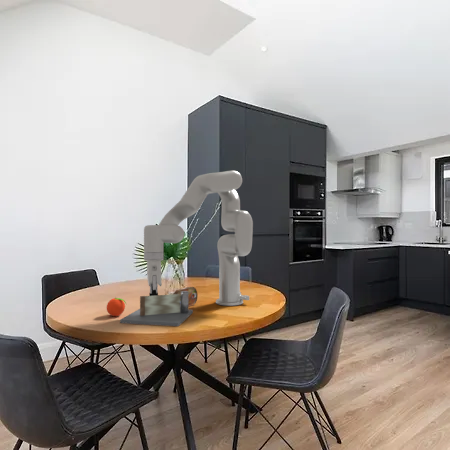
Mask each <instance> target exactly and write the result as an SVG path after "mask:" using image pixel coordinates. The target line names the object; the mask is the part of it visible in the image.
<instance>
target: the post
mask: <svg viewBox="0 0 450 450" xmlns="http://www.w3.org/2000/svg"><path fill="white" fill-rule="evenodd" d="M188 310H189V307H188V291H181V313H183V314H186V313H188Z"/></svg>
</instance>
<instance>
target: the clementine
mask: <svg viewBox="0 0 450 450" xmlns="http://www.w3.org/2000/svg"><path fill="white" fill-rule="evenodd" d="M126 304H127V302H126V301H125V300H124V299H122V298H118V297H115V298H111V299H110V300H109V301H108V302H107V304H106V311H107V313H108V314H109V315H110V316H113V317H118V316H121V315H122V314H123V313H124V311H125V309H126Z"/></svg>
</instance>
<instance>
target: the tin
mask: <svg viewBox="0 0 450 450" xmlns="http://www.w3.org/2000/svg"><path fill="white" fill-rule="evenodd" d="M181 291H188V308H190V307H193V306H195V305H196V303H197V301H198V290H197V288H196V287H194V286H187V287H183V288H179V289H176V290H174V292H173V294H180V309H181Z"/></svg>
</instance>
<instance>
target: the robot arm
mask: <svg viewBox="0 0 450 450" xmlns="http://www.w3.org/2000/svg"><path fill="white" fill-rule="evenodd" d="M242 177H243V176H242V175H241V173H240V172H238V171H237V170H233V169H232V170H226V171H219V172H210V173H204V174H199V175H197V176H196V177H195V178H194V179H193V180H192V182H191V183H190V185H189V187H187V190H186V191H185V192H184V194H183V195H182V197H181V198H180V200H179V201H178V202H177V203H175V205H174V206H173V207H172V208H171V209H170V210H169V211H167V213H166V214H165V215H164V216H163V217H162V219H161V220H160V222H159V224H147V225H145V226H144V227H143V261H144V262H146V272H147V274H146V276H147V285H148V287H149V295H148V296H154V295H159V293H158V289H159V288H158V286H159V287H162V283H163V282H162V261H164V243H165V244H166V243H167V244H177V243H180V242H181V241H182V240H183V239H184V237H185V231H184V229H183V228H182V227H181V226H180V224H181V223H182V222H183V221H185V220H186V219H188V218H190V217H191V216H193V215H194V214H196V213H197V212H198V211H199V209H200V208H201V206H202V204H203V203H204V201H205V199H207V197H208V195H210V194H218V196H219V197H220V201H221V219H220V220H221V223H220V224H221V227H222V229H223V230H224V231H226V232H234V234H233V233H232V234H224V235H221V236H220V237H219V239H218V241H217V244H216V245H217V253H218V261H219V263H218V264H219V265H218V266H219V268H218V269H219V273H218V274H219V275H218V280H219V281H218V284H219V285H218V286H219V287H218V289H219V291H218V293H219V294H218V295H219V297H218V298H217V299H216V300H215V304H216V305H219V306H225V307H227V306H229V307H230V306H233V307H234V306H239V305H242V304H244V300H245V301H250V295H246V294H244V295H243V294H242V292H241V285H240V284H241V280H240V279H241V275H240V273H241V270H240V269H241V264H240V259H239V257H245V256H248V255H249V254H250V252H251V251H252V247H253V233H254V231H253V230H254V229H253V228H254V221H253V218H252V215H251V214H250V213H249V212H248V211H247V210H242V209H241V199H240V196H239V194H238V191H237V190H238V189H239V188H240V187H241V186H242V183H243V178H242Z"/></svg>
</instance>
